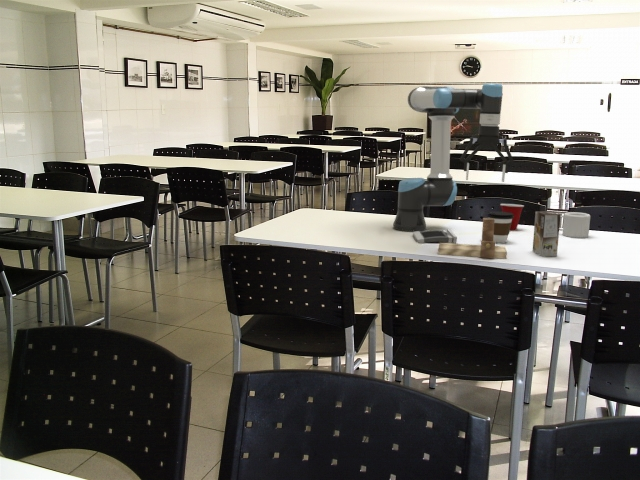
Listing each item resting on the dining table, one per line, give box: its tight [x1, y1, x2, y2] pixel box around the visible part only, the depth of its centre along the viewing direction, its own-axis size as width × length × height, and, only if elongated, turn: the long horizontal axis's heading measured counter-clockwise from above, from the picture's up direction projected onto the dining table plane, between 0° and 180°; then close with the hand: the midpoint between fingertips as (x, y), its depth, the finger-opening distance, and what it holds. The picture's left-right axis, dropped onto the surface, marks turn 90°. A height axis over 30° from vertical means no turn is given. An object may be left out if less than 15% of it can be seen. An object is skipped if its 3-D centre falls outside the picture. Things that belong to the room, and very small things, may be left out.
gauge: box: [480, 217, 496, 259], centre depth 232 cm, size 5×14×14 cm, turn 167°
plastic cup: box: [499, 203, 525, 231], centre depth 287 cm, size 11×11×12 cm
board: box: [437, 242, 508, 259], centre depth 235 cm, size 25×10×3 cm, turn 77°
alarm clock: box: [412, 228, 458, 244], centre depth 262 cm, size 17×5×16 cm
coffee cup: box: [486, 210, 514, 244], centre depth 259 cm, size 11×11×12 cm
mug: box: [559, 211, 591, 239], centre depth 274 cm, size 14×11×10 cm
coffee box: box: [532, 210, 562, 257], centre depth 236 cm, size 9×6×16 cm
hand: (484, 180), depth 239 cm, fingers open, 13 cm apart
